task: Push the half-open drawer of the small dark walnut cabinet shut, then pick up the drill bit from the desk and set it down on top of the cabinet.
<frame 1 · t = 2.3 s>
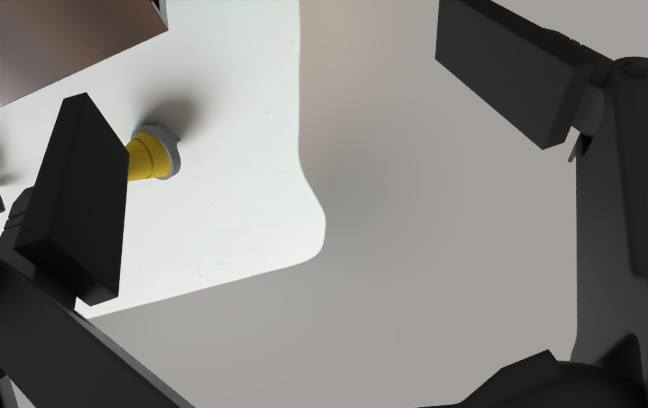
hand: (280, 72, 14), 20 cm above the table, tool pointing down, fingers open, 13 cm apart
drill bit: (144, 140, 38), on the table
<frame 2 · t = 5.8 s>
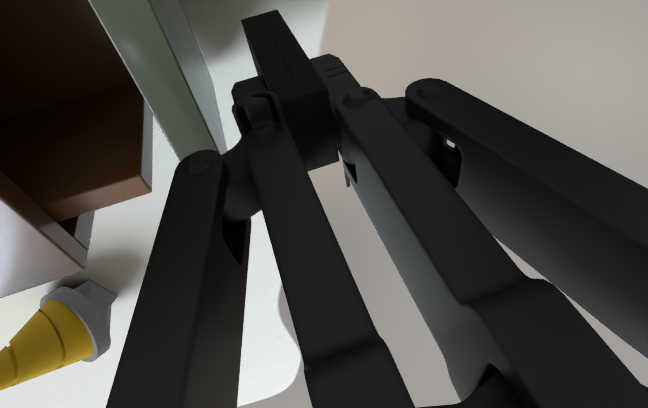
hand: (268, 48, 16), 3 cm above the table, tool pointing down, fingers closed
drill bit: (63, 297, 26), on the table
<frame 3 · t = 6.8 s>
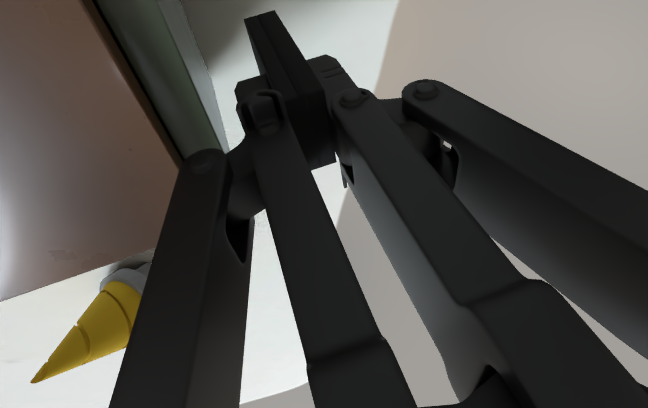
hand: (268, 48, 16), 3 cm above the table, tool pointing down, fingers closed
drill bit: (120, 280, 27), on the table
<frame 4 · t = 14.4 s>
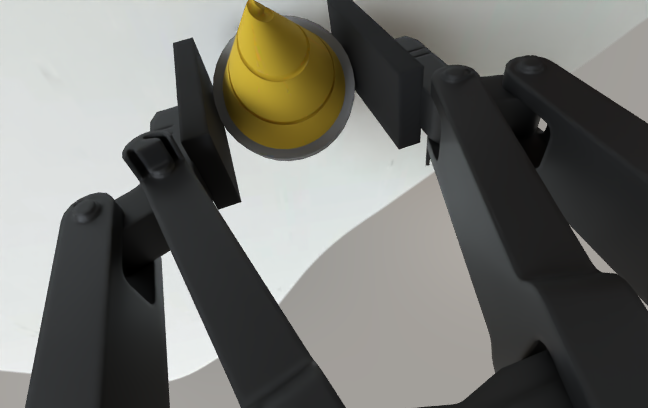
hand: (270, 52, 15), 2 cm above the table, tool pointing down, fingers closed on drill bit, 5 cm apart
drill bit: (253, 48, 15), point 2 cm above the table, touching gripper
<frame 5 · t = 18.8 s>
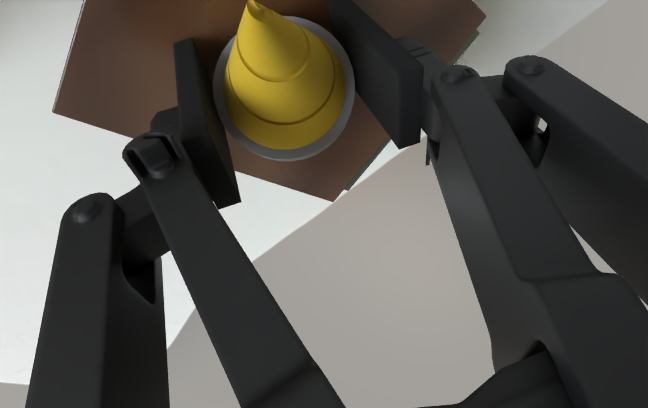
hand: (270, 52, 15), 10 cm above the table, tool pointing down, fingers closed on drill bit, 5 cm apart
drawer: (303, 43, 21), point 5 cm above the table, slide at 0.0 cm, touching cabinet
drill bit: (253, 48, 15), point 9 cm above the table, touching gripper
when the fingers open (10 cm above the table, at t = 20.8 s): drill bit stays where it is, resting on cabinet.
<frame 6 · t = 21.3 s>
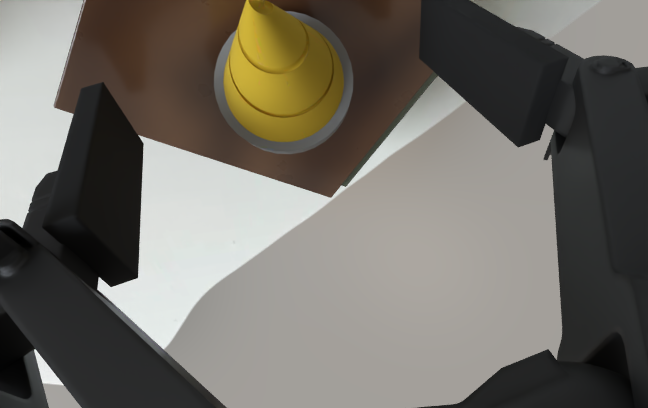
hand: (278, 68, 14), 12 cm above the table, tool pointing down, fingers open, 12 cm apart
drawer: (301, 40, 21), point 5 cm above the table, slide at 0.0 cm, touching cabinet
drill bit: (253, 43, 16), point 9 cm above the table, touching cabinet
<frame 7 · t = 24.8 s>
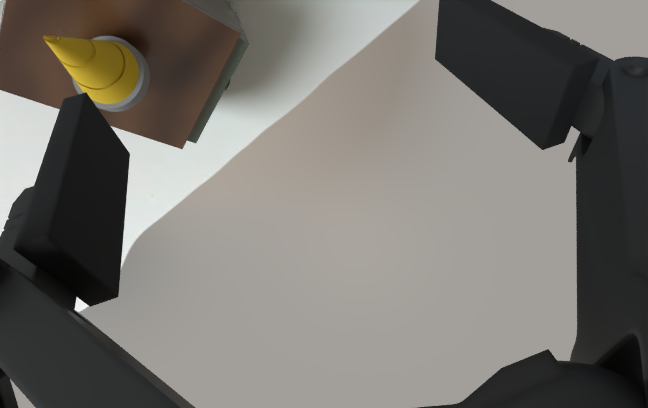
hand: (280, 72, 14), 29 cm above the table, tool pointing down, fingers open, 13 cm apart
cabinet: (127, 16, 36), on the table
drawer: (152, 48, 34), point 5 cm above the table, slide at 0.0 cm, touching cabinet
drill bit: (99, 52, 29), point 9 cm above the table, touching cabinet
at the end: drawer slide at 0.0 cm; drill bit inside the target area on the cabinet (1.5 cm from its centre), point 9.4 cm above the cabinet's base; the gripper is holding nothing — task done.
